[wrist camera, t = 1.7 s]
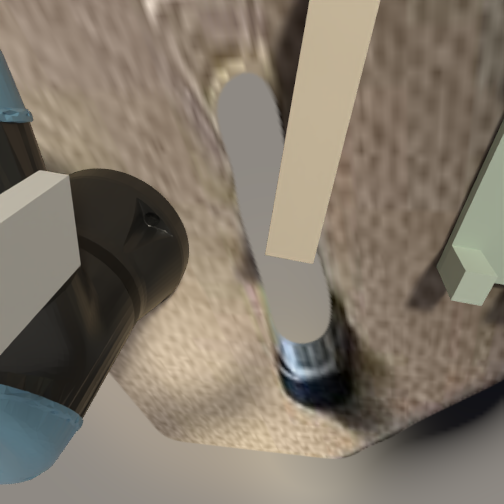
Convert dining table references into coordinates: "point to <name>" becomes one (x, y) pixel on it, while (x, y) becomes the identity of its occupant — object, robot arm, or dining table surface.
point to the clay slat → (318, 122)
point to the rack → (478, 234)
